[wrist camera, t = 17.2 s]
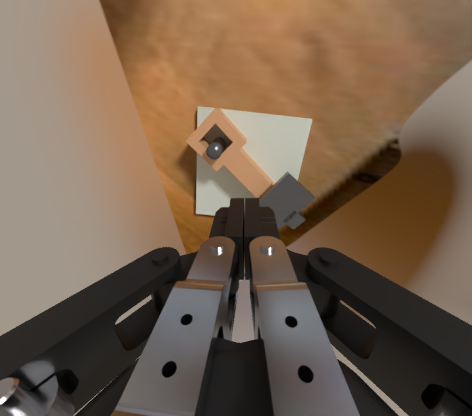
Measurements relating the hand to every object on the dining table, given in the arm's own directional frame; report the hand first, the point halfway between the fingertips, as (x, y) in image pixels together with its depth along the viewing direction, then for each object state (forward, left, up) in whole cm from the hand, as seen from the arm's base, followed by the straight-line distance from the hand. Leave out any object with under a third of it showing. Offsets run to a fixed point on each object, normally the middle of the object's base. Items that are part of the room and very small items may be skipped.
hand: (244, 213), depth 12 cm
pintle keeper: (+7, +3, -25) cm, 26 cm away
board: (+5, +1, -25) cm, 25 cm away
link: (+3, -1, -24) cm, 24 cm away
